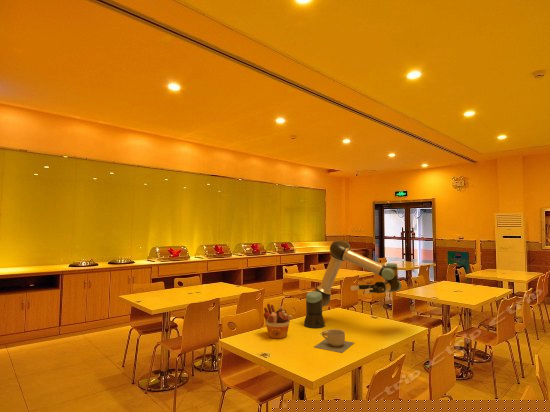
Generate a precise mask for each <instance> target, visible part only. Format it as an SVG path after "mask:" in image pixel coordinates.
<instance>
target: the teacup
mask: <svg viewBox="0 0 550 412" xmlns="http://www.w3.org/2000/svg"><path fill="white" fill-rule="evenodd" d="M325 334H326V335H325ZM321 336H322V337H323V338H324V340H325V339H326V340H327V341H328V343H329V344H330V345H331V346H334V347H340V346H342V345H343V344H344V342H345V341H346V332H345V331H344V330H343V329H339V328H338V329H337V328H332V329H328V330H323V331H322V333H321Z"/></svg>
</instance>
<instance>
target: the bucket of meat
mask: <svg viewBox="0 0 550 412" xmlns="http://www.w3.org/2000/svg"><path fill="white" fill-rule="evenodd" d="M283 308H284V307H283V306H280V307H278V308H277V309H278V310H276V309H275V306H274V304H270V303H267V304H266V307H264V308H263V309H264V313H263V318H264V319H265V321H264V322H265V324H266V325H265V326H266V329H267V334H268V336H269V337H270V338H271V339H275V340H276V339H277V340H279V339H284V338H286V337H287V335H288V332H289V328H290V327H289V326H290V322H291V319H292V318H293V316H292V315H291V314H289V315H288V313H287V310H286V309H283Z"/></svg>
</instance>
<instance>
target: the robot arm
mask: <svg viewBox="0 0 550 412" xmlns="http://www.w3.org/2000/svg"><path fill="white" fill-rule="evenodd" d="M329 252H330V259H329V263H328V264H327V267H326V269H325V272H324V275H323V277H322V279H321V282H320V284H319V285H317V287H316V289H315V291H308V292H307V293H306V295H305V308H306V309H305V311H306V313H305V316H304V321H303V326H304V327H306V328H309V329H321V328H324V327H325V326H326V322H325V318H324V316H323V315H324V314H323V308H324V307H326V306H328V305H329V303H330V301H331V295H332V292H331V290H332V287H333V285H334V283H335V280H336V278H337V275H338V273H339V270H340V268H341V265H342V263H343V262H345V261H348V262H350V263H352V264H353V265H356V266H357V267H360V268H363V269H364V270H367V271H369V272H370V273H373V274H375V275H377V276H380V277H381V278H383V279H384V280H383V281H381V280H380V281H376V282H375V283H374V284H356V285H351V286H350V291H359V290H364V294H367V295H368V294H373V293H374V294H383V293H384V294H387V293H391V292H398V291H401V289H402V283H401V281H400V280H399V279H398V277H399V276H398V270H399V269H398V264H397V263H394V262H387V263H385V265H384V264H382V263H380V262H377V261H375V260H373V259H371V258H368V257H366V256H364V255H362V254H360V253H357V252H355V251H353V250H351V245H350V244H349V242H347V241H345V240H337V241H336V240H335V241H333V242H332V243H331V244H330V246H329Z"/></svg>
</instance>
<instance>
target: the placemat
mask: <svg viewBox="0 0 550 412" xmlns="http://www.w3.org/2000/svg"><path fill="white" fill-rule="evenodd" d="M354 344H355V342H353V341H348V340H345V342H344V344H343V345H342V346H340V347H334V346H331V345H330V344H329V343H328V341H327V340H326V339H325V338H324V339H323V340H322V341H320V342H319V343H317V344H316V345H314V346H313V348H314V349H315V348H316V349H321V350H324V351H325V350H326V351H331V352H335V353H340V354H343V353H345V351H347V350H348V349H349V348H350V347H351V346H353V345H354Z"/></svg>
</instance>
